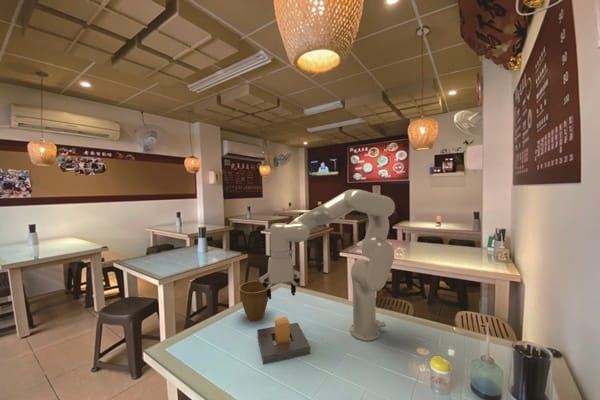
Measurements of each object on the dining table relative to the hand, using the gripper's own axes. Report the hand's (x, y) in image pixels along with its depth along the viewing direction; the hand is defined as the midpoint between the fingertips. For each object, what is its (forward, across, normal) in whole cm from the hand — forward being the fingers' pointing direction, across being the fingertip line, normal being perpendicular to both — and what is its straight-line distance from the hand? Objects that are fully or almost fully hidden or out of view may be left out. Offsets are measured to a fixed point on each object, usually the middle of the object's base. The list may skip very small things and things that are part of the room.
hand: (281, 296), depth 100 cm
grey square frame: (+20, 0, 0) cm, 20 cm away
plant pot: (+20, +8, -25) cm, 33 cm away
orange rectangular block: (+20, 0, 0) cm, 20 cm away
